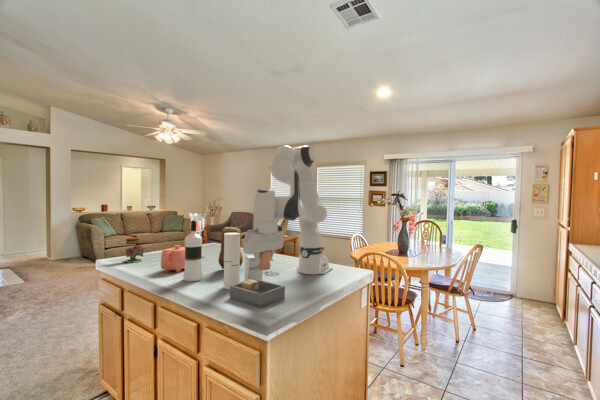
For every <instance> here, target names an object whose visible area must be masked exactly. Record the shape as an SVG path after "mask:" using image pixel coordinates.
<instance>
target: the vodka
mask: <svg viewBox="0 0 600 400" xmlns="http://www.w3.org/2000/svg"><path fill="white" fill-rule="evenodd" d="M184 247H185V269H183V270H184V271H183V277H182V278H183V281H185V282H188V283H189V282H190V283H193V282H198V281H201V280H202V279H203V277H204V275H203V268H202V267H203V266H202V261H203V259H202V252H203V251H202V248H203V237H202V236H201V235H200V234H198V233H197V220H190V234H188V235H187V236H186V237H184Z"/></svg>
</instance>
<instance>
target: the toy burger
mask: <svg viewBox="0 0 600 400" xmlns="http://www.w3.org/2000/svg"><path fill="white" fill-rule="evenodd" d="M125 240H126V241H125V244H126V245H135V246H133V247H128V248H126V250H125V257H126V258H128V257H129V259H125V260H123V261H122V263H123V262H127V263H126V264H132V263H131V262H136V263H140V262H142V261H143V260H142V258H143V257H144V251H145V249H146V248H145V247H144V248H143V247H142V245H141V244H140V238H139V237H127V238H126V239H125ZM138 256H140V257H142V258H137V257H138ZM139 261H140V262H139Z"/></svg>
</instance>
